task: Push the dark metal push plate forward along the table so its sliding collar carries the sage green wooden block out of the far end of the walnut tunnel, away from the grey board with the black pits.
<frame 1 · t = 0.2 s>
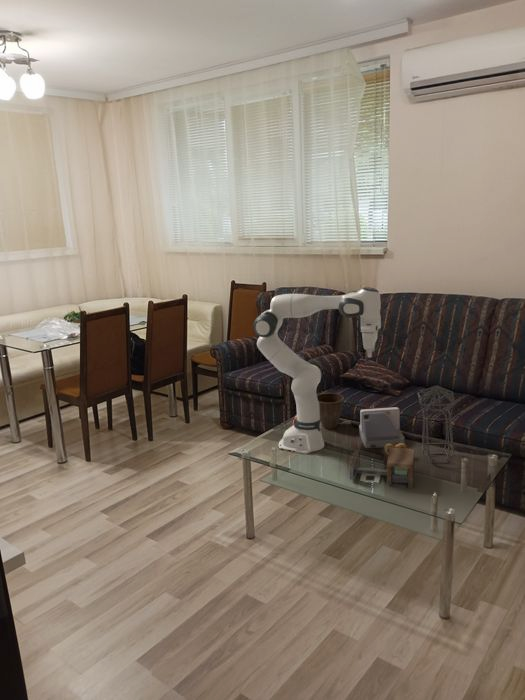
hand: (371, 354, 253), 47 cm above the table, tool pointing down, fingers open, 8 cm apart
geometric lantern: (435, 459, 253), on the table
pit board: (371, 475, 242), on the table
sled collar: (381, 468, 239), point 4 cm above the table, slide at 0.0 cm
instant camera: (381, 440, 277), on the table
plant pot: (330, 426, 296), on the table
tunnel: (401, 478, 238), on the table
lion figurine: (396, 459, 256), on the table
block: (401, 478, 238), resting in sled collar
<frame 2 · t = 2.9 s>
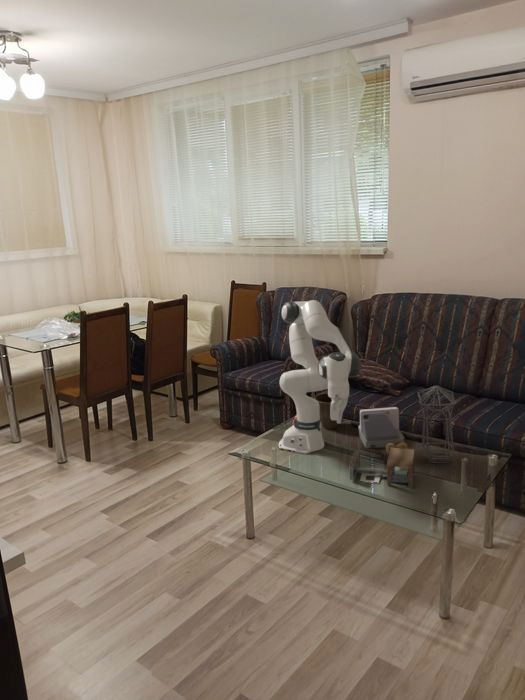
hand: (339, 422, 240), 24 cm above the table, tool pointing down, fingers closed
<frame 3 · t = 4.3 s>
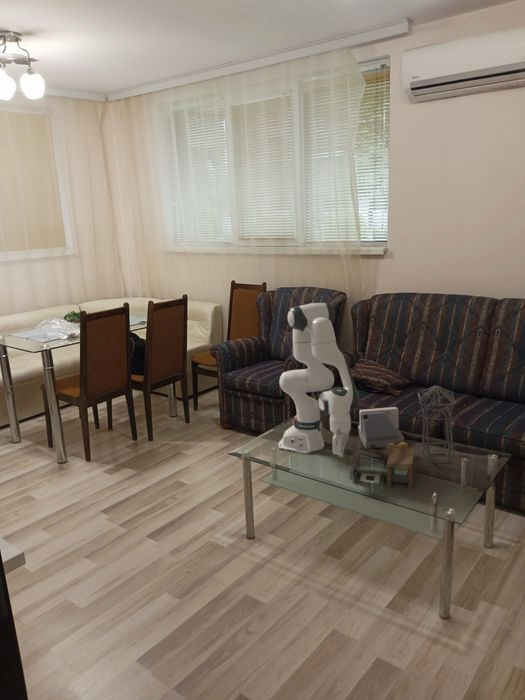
hand: (341, 455, 243), 9 cm above the table, tool pointing down, fingers closed
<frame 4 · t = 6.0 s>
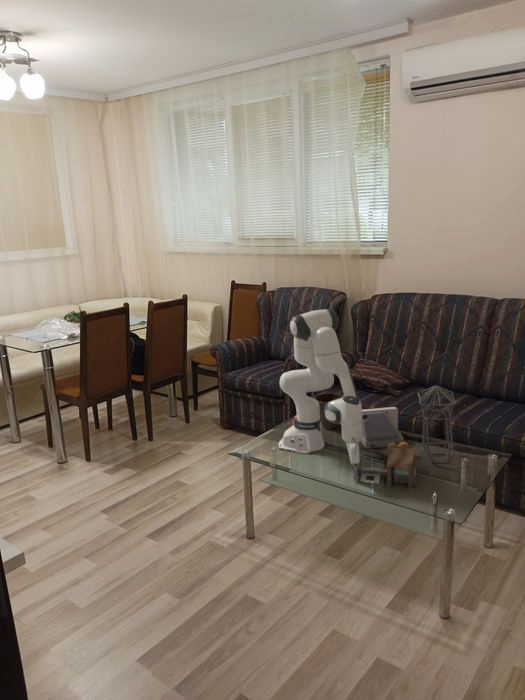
hand: (352, 463, 243), 5 cm above the table, tool pointing down, fingers closed
sled collar: (385, 468, 239), point 4 cm above the table, slide at 1.7 cm, touching block, gripper
block: (403, 478, 238), resting in sled collar
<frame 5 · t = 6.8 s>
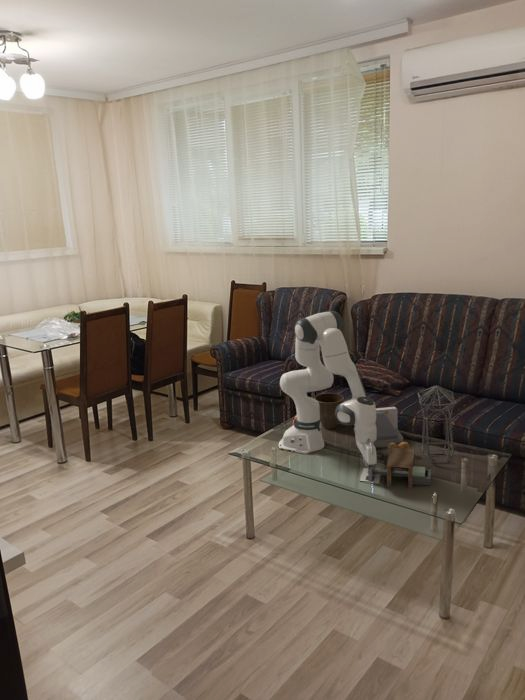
hand: (366, 464, 241), 5 cm above the table, tool pointing down, fingers closed
sled collar: (399, 469, 237), point 4 cm above the table, slide at 7.8 cm, touching gripper
block: (418, 480, 236), resting in sled collar
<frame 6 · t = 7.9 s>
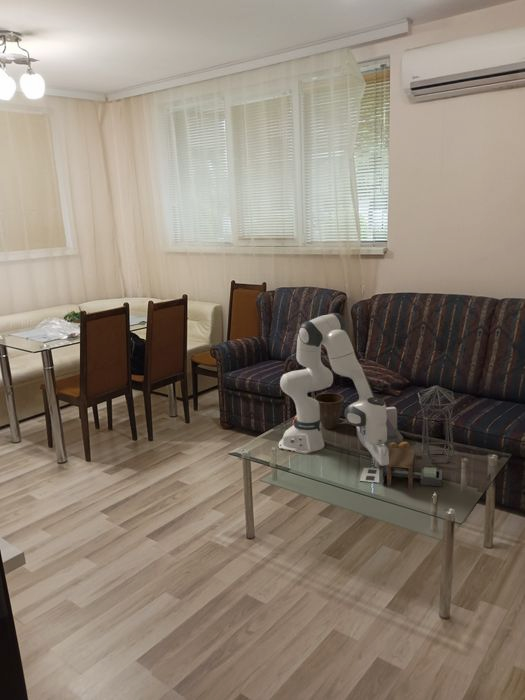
hand: (376, 465, 240), 5 cm above the table, tool pointing down, fingers closed
sled collar: (410, 470, 236), point 4 cm above the table, slide at 12.3 cm, touching gripper
block: (429, 481, 234), resting in sled collar
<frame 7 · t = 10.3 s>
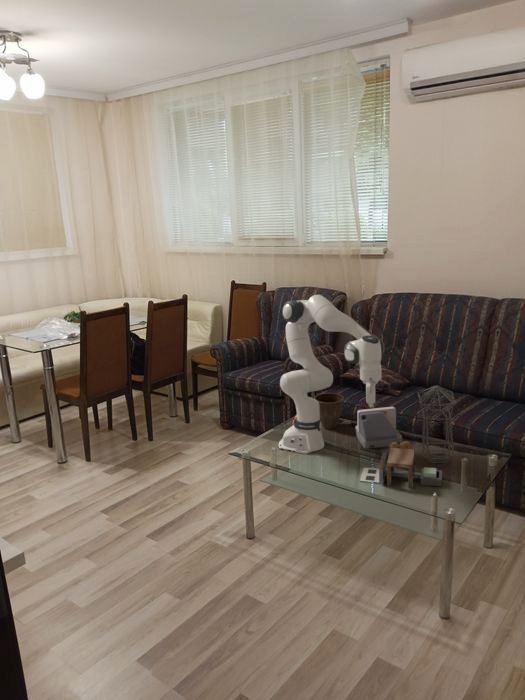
hand: (370, 405, 238), 31 cm above the table, tool pointing down, fingers closed
sled collar: (410, 470, 236), point 4 cm above the table, slide at 12.3 cm
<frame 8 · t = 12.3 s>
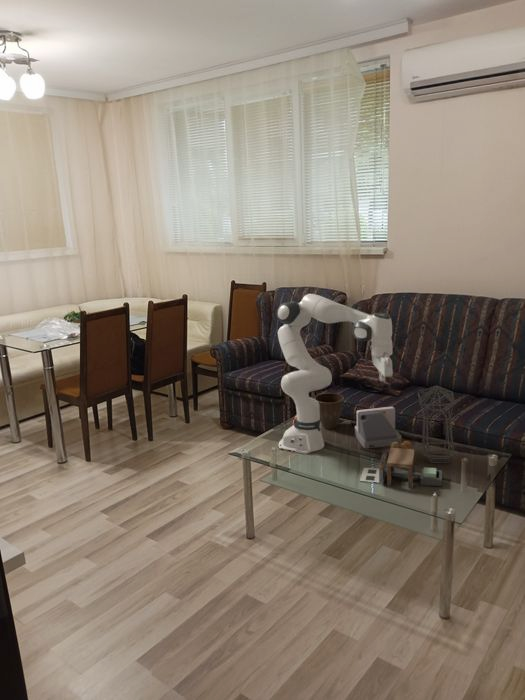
hand: (382, 380, 248), 37 cm above the table, tool pointing down, fingers closed
at the end: block inside the target area (0.0 cm from its centre), resting in sled collar; block tilted 0°; sled collar slide at 12.3 cm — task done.
